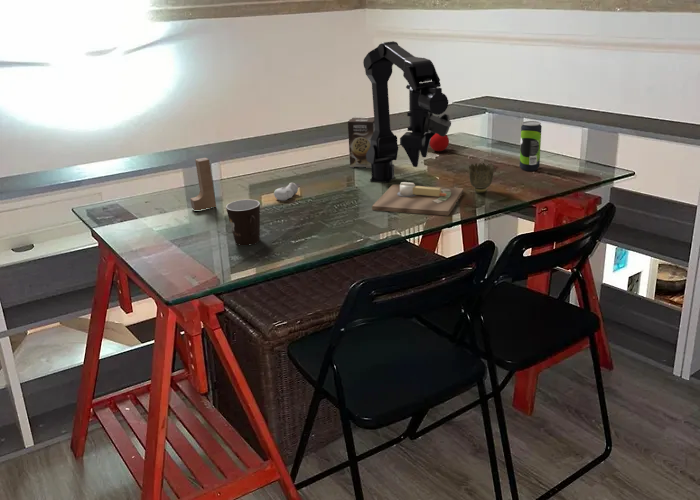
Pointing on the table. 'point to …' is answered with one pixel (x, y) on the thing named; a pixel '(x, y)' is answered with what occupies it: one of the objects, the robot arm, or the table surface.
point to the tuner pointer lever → (419, 190)
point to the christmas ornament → (439, 142)
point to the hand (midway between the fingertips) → (419, 161)
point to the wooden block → (204, 186)
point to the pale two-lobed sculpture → (286, 192)
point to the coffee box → (360, 140)
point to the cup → (481, 176)
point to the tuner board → (418, 201)
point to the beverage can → (530, 145)
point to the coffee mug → (245, 221)
